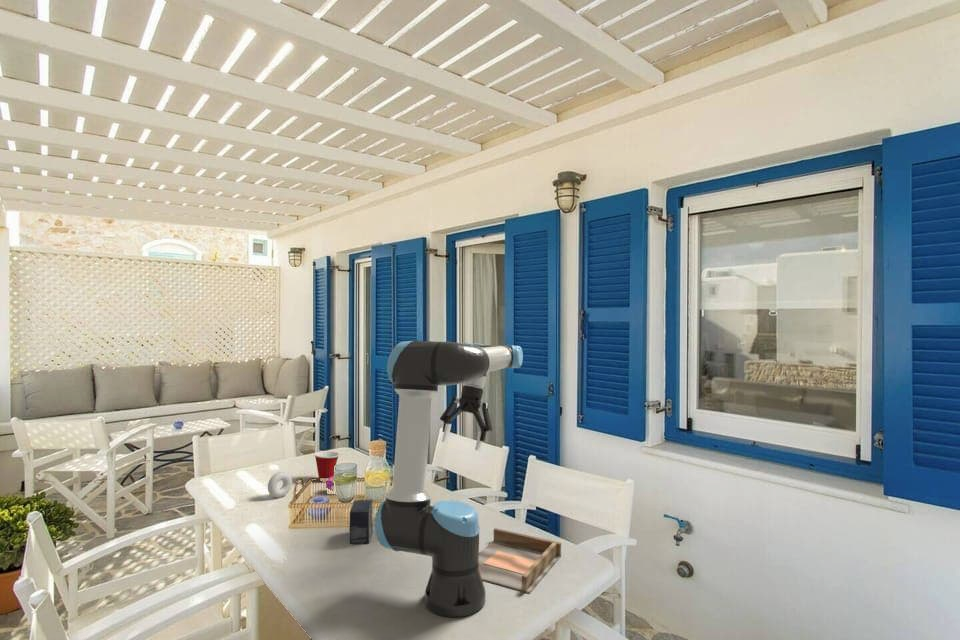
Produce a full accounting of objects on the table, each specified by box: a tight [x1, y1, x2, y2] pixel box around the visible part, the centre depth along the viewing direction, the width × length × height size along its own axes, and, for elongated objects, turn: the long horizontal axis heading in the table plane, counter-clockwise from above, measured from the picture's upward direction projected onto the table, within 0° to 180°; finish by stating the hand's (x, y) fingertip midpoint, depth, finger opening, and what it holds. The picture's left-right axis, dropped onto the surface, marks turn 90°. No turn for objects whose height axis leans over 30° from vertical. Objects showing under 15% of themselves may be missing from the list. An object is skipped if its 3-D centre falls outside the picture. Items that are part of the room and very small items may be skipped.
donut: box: [267, 471, 293, 499], centre depth 199 cm, size 10×4×10 cm, turn 143°
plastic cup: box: [313, 450, 340, 479], centre depth 221 cm, size 11×11×12 cm
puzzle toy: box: [325, 476, 335, 491], centre depth 205 cm, size 6×6×6 cm
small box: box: [349, 499, 374, 545], centre depth 162 cm, size 11×6×10 cm, turn 6°
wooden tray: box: [479, 527, 562, 594], centre depth 144 cm, size 24×22×4 cm
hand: (460, 446), depth 176 cm, fingers open, 13 cm apart
